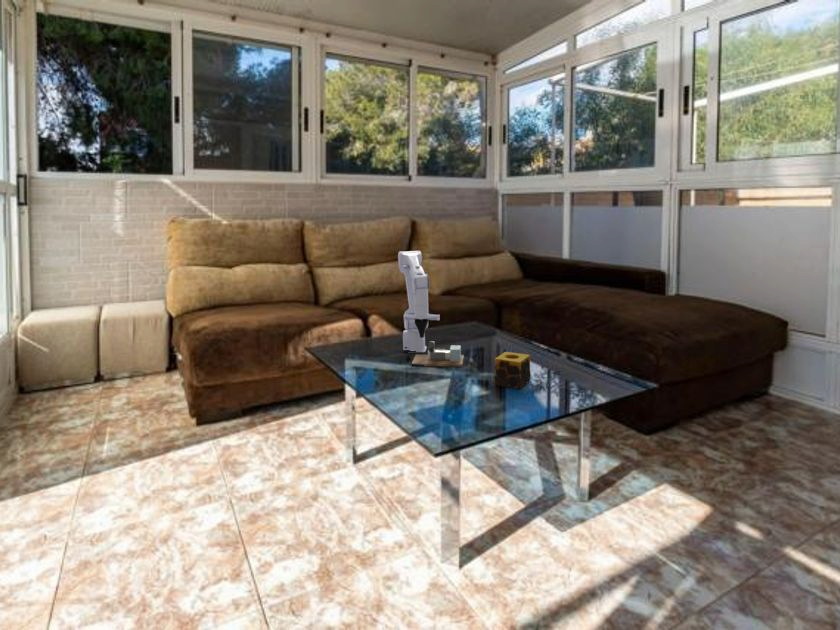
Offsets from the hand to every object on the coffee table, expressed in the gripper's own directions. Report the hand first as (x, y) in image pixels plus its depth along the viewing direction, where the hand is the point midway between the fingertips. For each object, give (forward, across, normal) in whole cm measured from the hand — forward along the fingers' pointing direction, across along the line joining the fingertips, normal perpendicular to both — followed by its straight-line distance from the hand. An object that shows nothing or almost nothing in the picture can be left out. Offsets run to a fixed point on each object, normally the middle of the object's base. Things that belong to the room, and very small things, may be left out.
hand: (422, 337), depth 229 cm
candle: (+9, +36, -27) cm, 46 cm away
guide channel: (+9, +7, -3) cm, 12 cm away
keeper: (+9, +14, -3) cm, 17 cm away
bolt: (+8, +9, -3) cm, 12 cm away
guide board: (+9, +7, -3) cm, 12 cm away
